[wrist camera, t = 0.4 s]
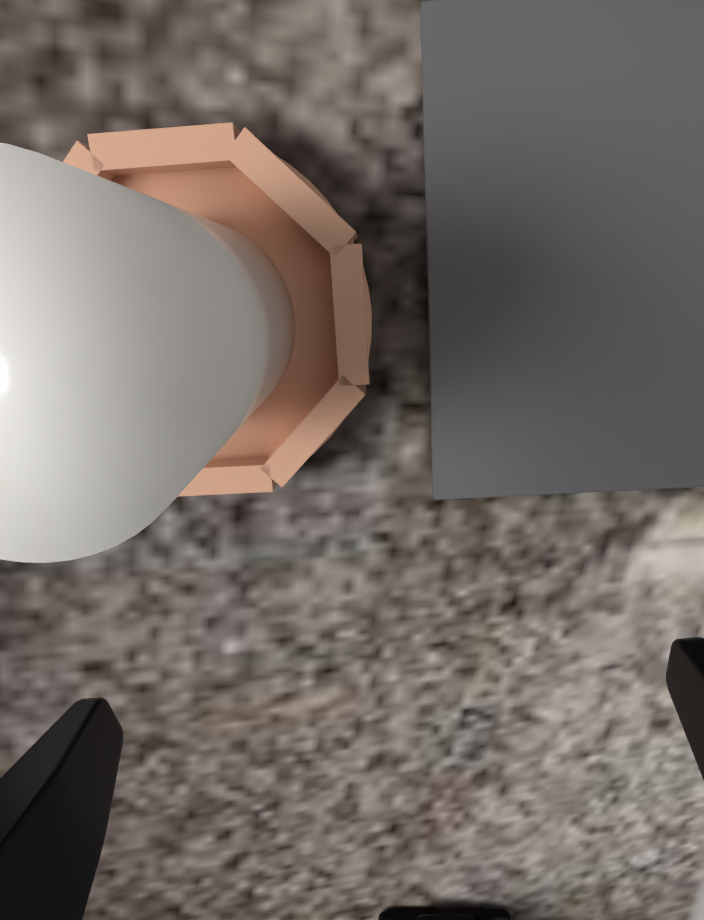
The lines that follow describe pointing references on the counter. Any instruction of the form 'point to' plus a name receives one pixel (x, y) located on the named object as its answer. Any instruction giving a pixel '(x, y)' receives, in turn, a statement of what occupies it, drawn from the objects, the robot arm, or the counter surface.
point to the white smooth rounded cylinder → (119, 353)
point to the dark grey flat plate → (564, 244)
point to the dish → (299, 262)
